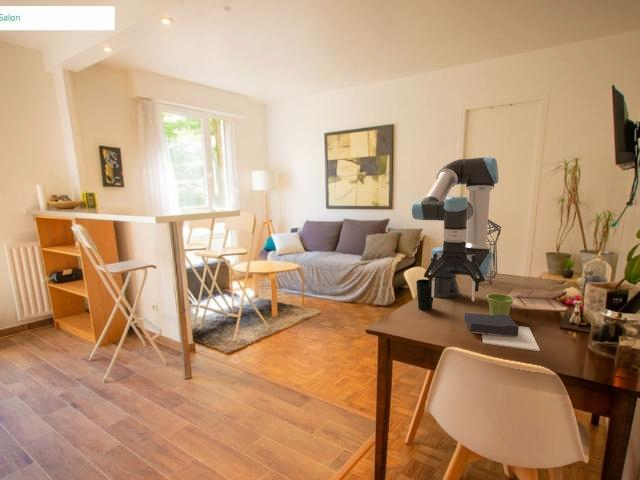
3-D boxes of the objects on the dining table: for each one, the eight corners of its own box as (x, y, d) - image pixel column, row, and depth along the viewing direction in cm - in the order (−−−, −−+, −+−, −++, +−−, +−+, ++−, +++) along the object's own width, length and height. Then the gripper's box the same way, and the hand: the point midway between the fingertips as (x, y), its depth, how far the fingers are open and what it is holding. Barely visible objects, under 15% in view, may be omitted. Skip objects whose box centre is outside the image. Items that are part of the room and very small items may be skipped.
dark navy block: (470, 333, 114) (517, 338, 111) (471, 321, 114) (519, 326, 110) (463, 321, 125) (506, 326, 122) (464, 311, 124) (508, 315, 121)
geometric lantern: (497, 287, 168) (501, 219, 162) (464, 283, 176) (466, 218, 171) (499, 280, 181) (503, 216, 176) (468, 276, 189) (470, 216, 184)
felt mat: (480, 322, 125) (480, 321, 125) (528, 328, 119) (528, 327, 119) (483, 343, 109) (483, 341, 109) (539, 351, 103) (539, 349, 103)
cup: (434, 306, 144) (435, 279, 142) (434, 312, 137) (435, 284, 135) (416, 304, 147) (416, 278, 145) (415, 310, 139) (415, 283, 138)
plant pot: (487, 321, 126) (488, 300, 125) (484, 312, 135) (485, 292, 134) (514, 324, 123) (516, 302, 122) (509, 315, 132) (511, 294, 130)
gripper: (416, 240, 118) (415, 297, 121) (495, 243, 108) (491, 305, 111) (419, 237, 124) (418, 291, 128) (493, 240, 115) (490, 298, 118)
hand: (452, 298), depth 119 cm, fingers open, 13 cm apart
